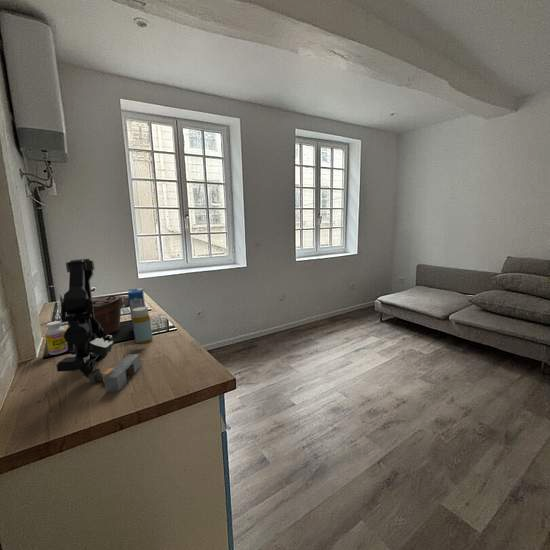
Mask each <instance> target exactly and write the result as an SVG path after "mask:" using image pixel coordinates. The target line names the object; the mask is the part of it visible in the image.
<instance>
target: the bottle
mask: <svg viewBox="0 0 550 550" xmlns="http://www.w3.org/2000/svg"><path fill="white" fill-rule="evenodd" d="M132 312H133V326H132V328H133V327H134V333H133V335H134V339H135V342H136V343H137V344H138V345H139V344H147V343H150V342H151V341H152V340H153V338H154V337H153V331H152V330H153V329H152V322H151V317H150V315H149V308H148V306H145V307H138V308H134V309H133V310H132Z"/></svg>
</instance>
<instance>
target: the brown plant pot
mask: <svg viewBox="0 0 550 550" xmlns="http://www.w3.org/2000/svg"><path fill="white" fill-rule="evenodd" d="M92 301H93V309H94V316H95V319H96V320H97V321H98V322H99V323H100V325H101V328H103V330H104V331H105V333H106V335H110V334H112V333H115V332H117V331H118V330H120V325H121V315H122V313H121V311H122V306H124V305H125V302H124V300H123V298H122V297H121V296H116V295H110V296H108V297H106V298H97V297H94V298H93V297H92Z"/></svg>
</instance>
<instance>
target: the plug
mask: <svg viewBox="0 0 550 550" xmlns="http://www.w3.org/2000/svg"><path fill="white" fill-rule="evenodd" d="M114 368H115V367H108V368H107V369H106V370H105V371H104V372H101V368H95V369H93V371H92V372H91V373H90V374H89V375H88V376H89V378H88V380H89V384H95V383H96V382H103V383H104V377H105V376H106V375H107V374H108V373H110V372H111V371H112V370H113V369H114ZM125 372H126V371H125Z"/></svg>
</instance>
